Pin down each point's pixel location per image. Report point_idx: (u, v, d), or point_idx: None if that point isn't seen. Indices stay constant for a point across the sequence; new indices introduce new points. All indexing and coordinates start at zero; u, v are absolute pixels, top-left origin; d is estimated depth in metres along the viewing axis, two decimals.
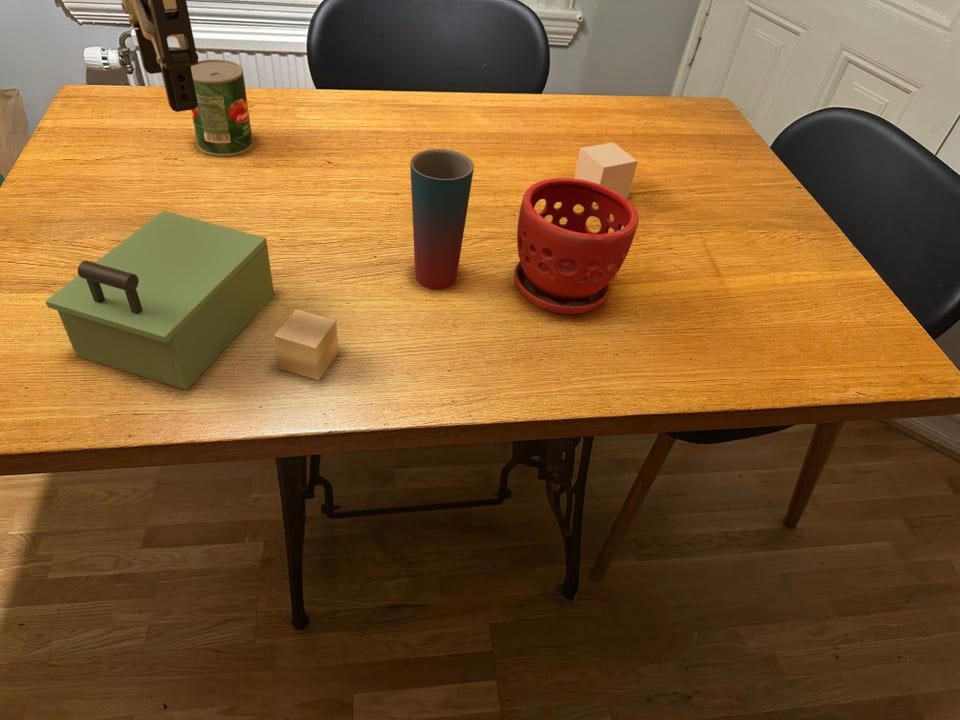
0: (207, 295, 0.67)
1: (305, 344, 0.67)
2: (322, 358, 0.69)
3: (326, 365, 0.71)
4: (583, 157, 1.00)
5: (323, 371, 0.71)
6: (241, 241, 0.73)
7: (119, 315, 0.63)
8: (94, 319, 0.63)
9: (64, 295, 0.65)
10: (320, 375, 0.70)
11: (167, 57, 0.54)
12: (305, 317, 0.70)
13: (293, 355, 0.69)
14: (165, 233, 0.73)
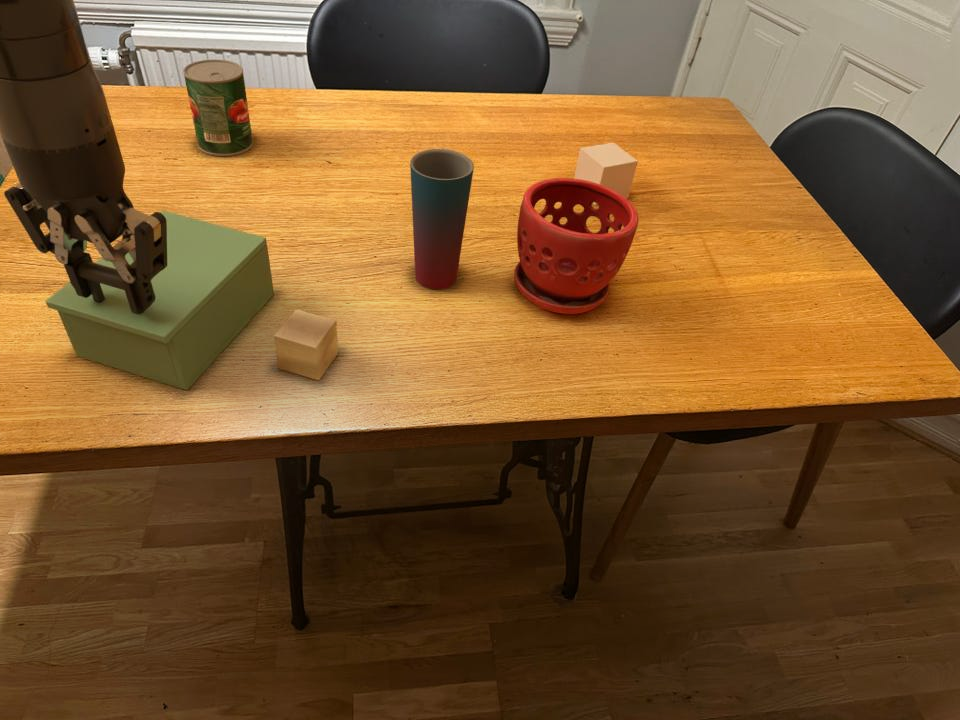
0: (207, 295, 0.67)
1: (305, 344, 0.67)
2: (322, 358, 0.69)
3: (326, 365, 0.71)
4: (583, 157, 1.00)
5: (323, 371, 0.71)
6: (241, 241, 0.73)
7: (119, 315, 0.63)
8: (94, 319, 0.63)
9: (64, 295, 0.65)
10: (320, 375, 0.70)
11: (150, 276, 0.59)
12: (305, 317, 0.70)
13: (293, 355, 0.69)
14: None
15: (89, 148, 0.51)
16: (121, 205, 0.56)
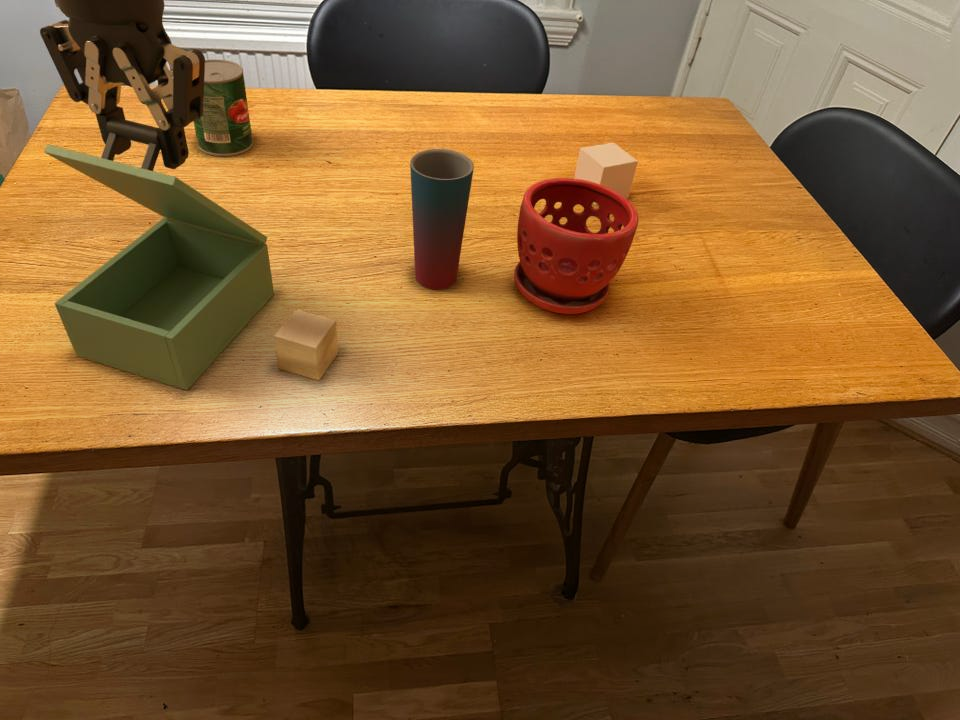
0: (216, 204, 0.64)
1: (305, 344, 0.67)
2: (322, 358, 0.69)
3: (326, 365, 0.71)
4: (583, 157, 1.00)
5: (323, 371, 0.71)
6: None
7: None
8: (97, 162, 0.59)
9: None
10: (320, 375, 0.70)
11: (187, 119, 0.58)
12: (305, 317, 0.70)
13: (293, 355, 0.69)
14: None
15: None
16: (160, 40, 0.55)
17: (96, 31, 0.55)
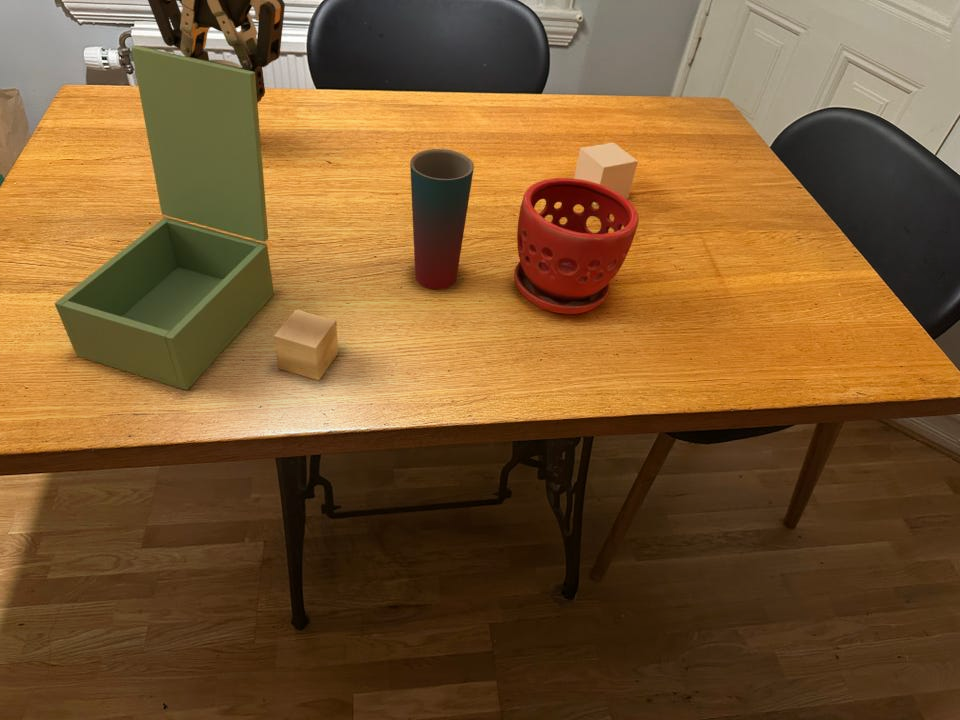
0: (260, 141, 0.68)
1: (305, 344, 0.67)
2: (322, 358, 0.69)
3: (326, 365, 0.71)
4: (583, 157, 1.00)
5: (323, 371, 0.71)
6: None
7: None
8: (181, 56, 0.65)
9: None
10: (320, 375, 0.70)
11: (268, 59, 0.66)
12: (305, 317, 0.70)
13: (293, 355, 0.69)
14: None
15: None
16: None
17: None
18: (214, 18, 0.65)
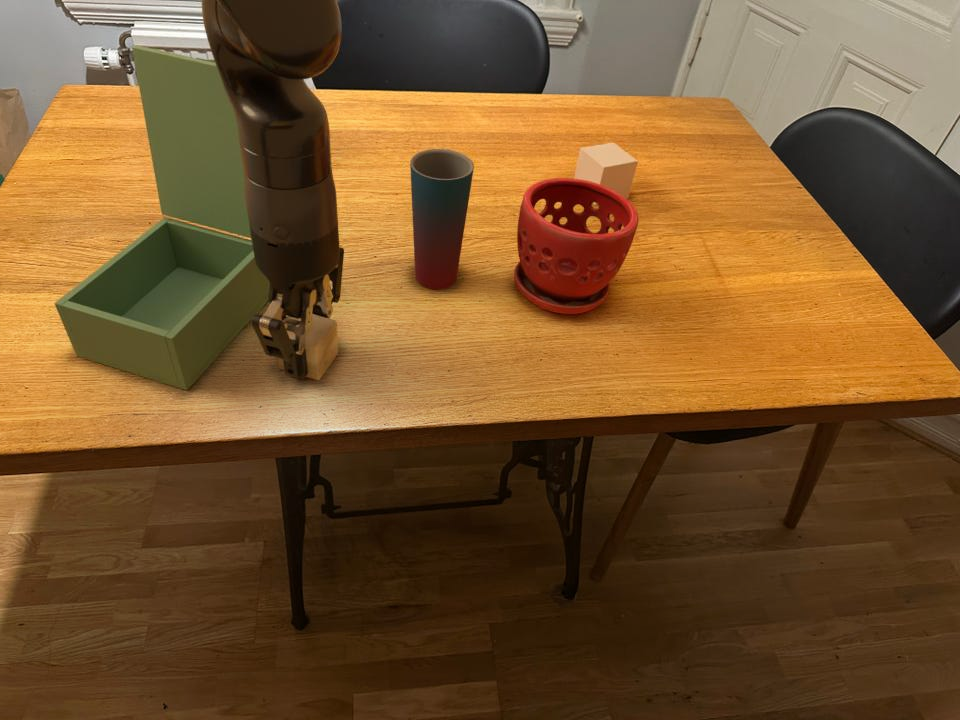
0: None
1: (305, 344, 0.67)
2: (322, 358, 0.69)
3: (326, 365, 0.71)
4: (583, 157, 1.00)
5: (323, 371, 0.71)
6: None
7: None
8: (182, 56, 0.65)
9: None
10: (320, 375, 0.70)
11: (266, 352, 0.65)
12: None
13: None
14: None
15: (261, 241, 0.58)
16: (280, 296, 0.62)
17: None
18: None
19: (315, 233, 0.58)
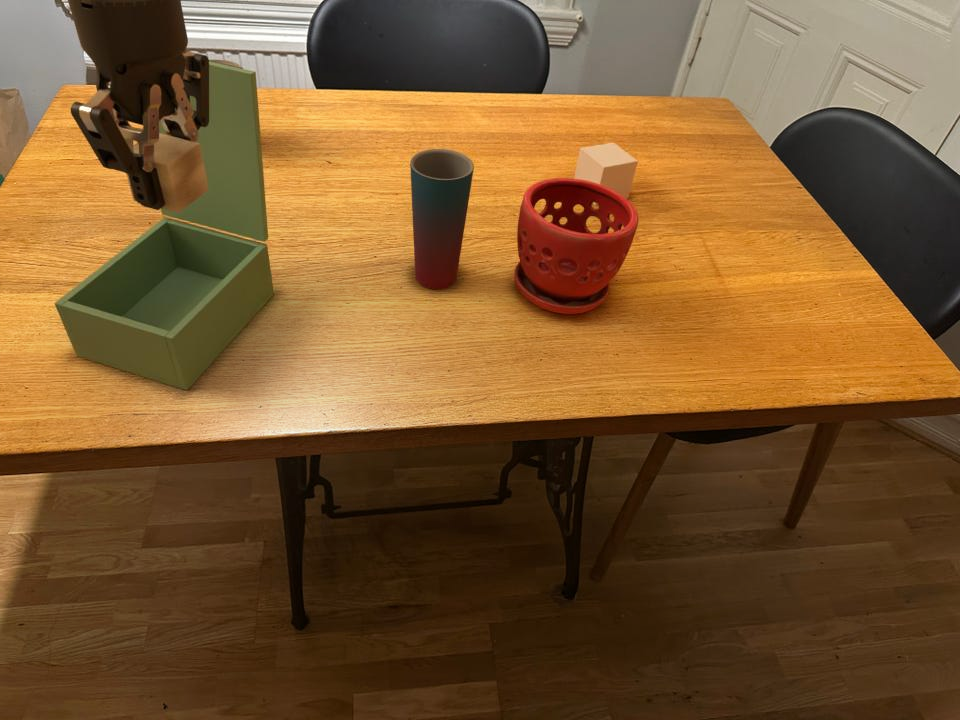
0: (260, 141, 0.68)
1: (156, 161, 0.57)
2: (181, 184, 0.59)
3: (189, 198, 0.61)
4: (583, 157, 1.00)
5: (185, 203, 0.60)
6: None
7: None
8: None
9: None
10: (180, 207, 0.60)
11: (102, 162, 0.54)
12: (164, 139, 0.60)
13: None
14: None
15: (75, 2, 0.48)
16: (110, 84, 0.52)
17: None
18: None
19: None
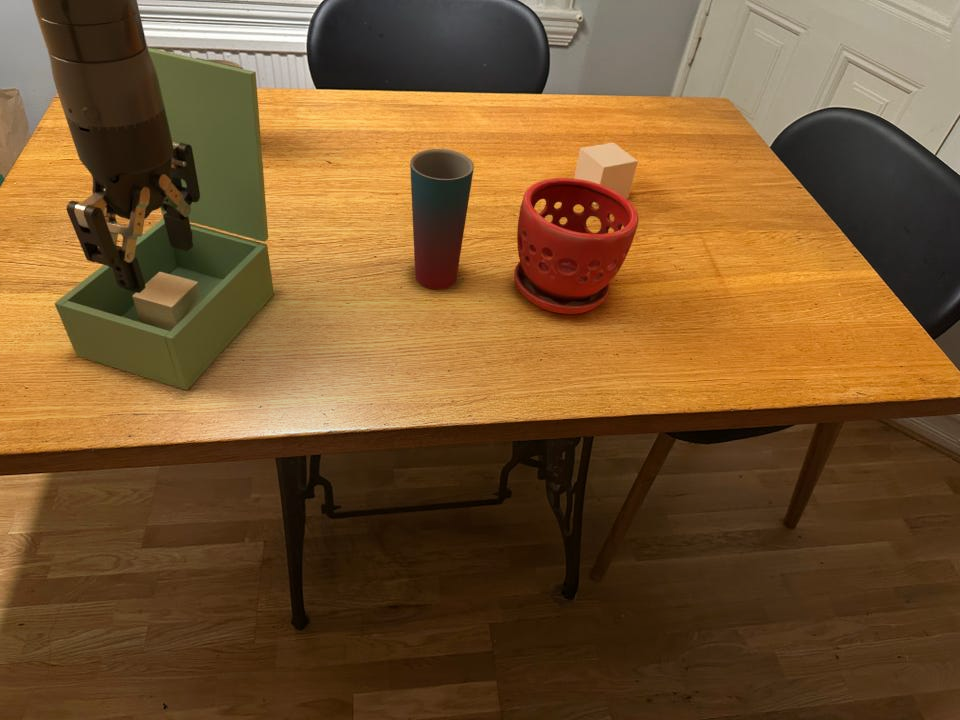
0: (260, 141, 0.68)
1: (162, 303, 0.69)
2: None
3: None
4: (583, 157, 1.00)
5: None
6: None
7: None
8: (182, 56, 0.65)
9: None
10: None
11: (86, 255, 0.60)
12: (167, 279, 0.71)
13: (153, 315, 0.70)
14: None
15: (73, 125, 0.55)
16: (105, 191, 0.59)
17: None
18: None
19: (130, 117, 0.55)
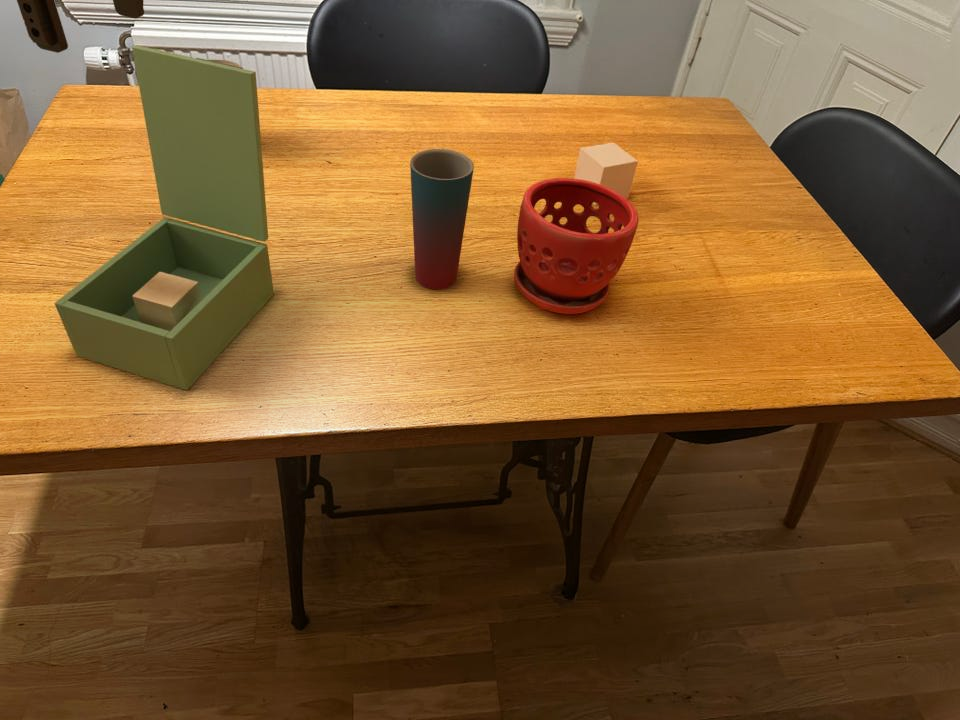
0: (260, 141, 0.68)
1: (162, 303, 0.69)
2: None
3: None
4: (583, 157, 1.00)
5: None
6: None
7: None
8: (182, 56, 0.65)
9: None
10: None
11: None
12: (167, 279, 0.71)
13: (153, 315, 0.70)
14: None
15: None
16: None
17: None
18: None
19: None
